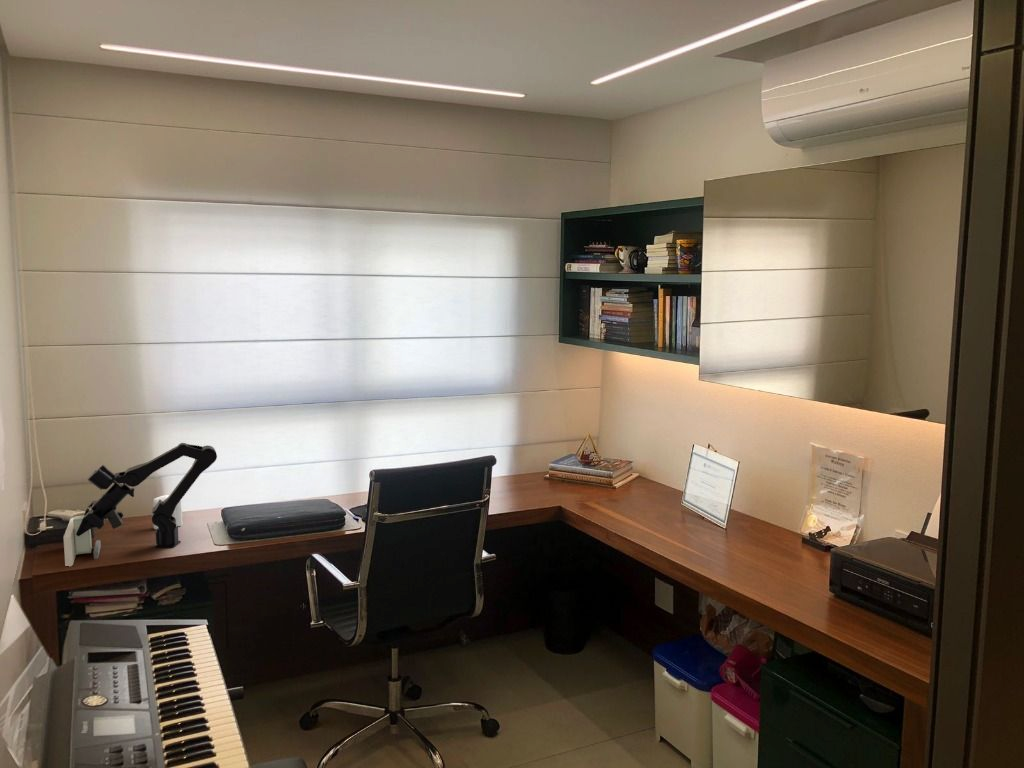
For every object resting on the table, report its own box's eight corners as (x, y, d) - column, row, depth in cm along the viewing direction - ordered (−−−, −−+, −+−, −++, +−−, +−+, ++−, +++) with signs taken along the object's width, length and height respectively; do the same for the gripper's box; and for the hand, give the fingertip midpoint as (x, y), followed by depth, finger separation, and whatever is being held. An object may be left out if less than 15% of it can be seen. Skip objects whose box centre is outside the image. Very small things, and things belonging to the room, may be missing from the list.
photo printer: (181, 523, 318) (179, 492, 317) (183, 526, 315) (182, 494, 313) (152, 527, 312) (151, 495, 311) (154, 530, 309) (153, 498, 307)
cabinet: (91, 549, 284) (89, 514, 283) (90, 553, 279) (88, 518, 278) (76, 550, 282) (74, 516, 281) (75, 554, 278) (73, 519, 276)
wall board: (101, 542, 294) (100, 515, 293) (96, 563, 272) (95, 533, 271) (72, 545, 290) (70, 518, 289) (65, 566, 268) (63, 536, 267)
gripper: (130, 519, 277) (95, 555, 274) (132, 506, 294) (99, 540, 291) (102, 499, 273) (67, 535, 270) (106, 486, 290) (72, 520, 287)
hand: (77, 533), depth 280 cm, fingers closed on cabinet, 5 cm apart
